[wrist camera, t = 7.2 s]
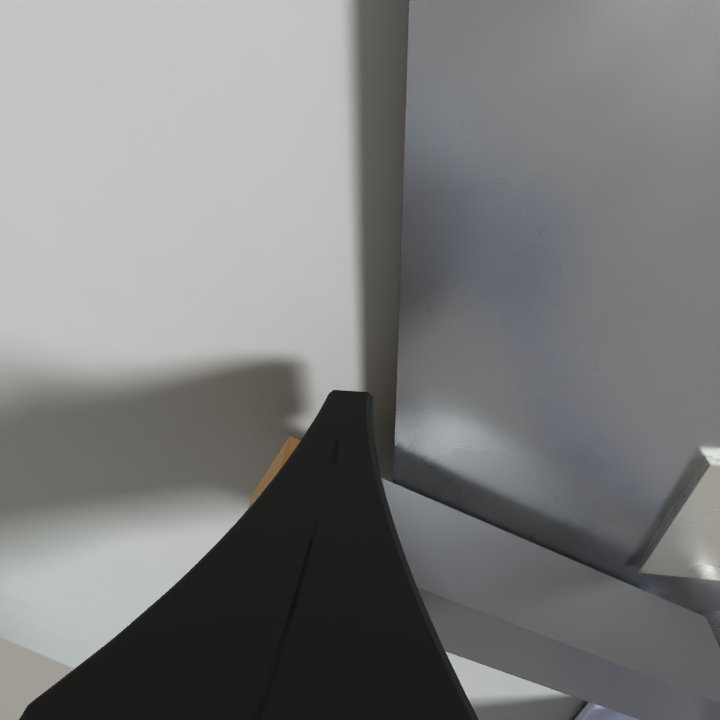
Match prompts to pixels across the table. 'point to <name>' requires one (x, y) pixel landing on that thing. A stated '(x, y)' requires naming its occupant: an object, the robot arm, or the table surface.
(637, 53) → the grey lever board
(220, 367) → the table surface
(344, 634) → the robot arm
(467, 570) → the swing bar
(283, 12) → the table surface
